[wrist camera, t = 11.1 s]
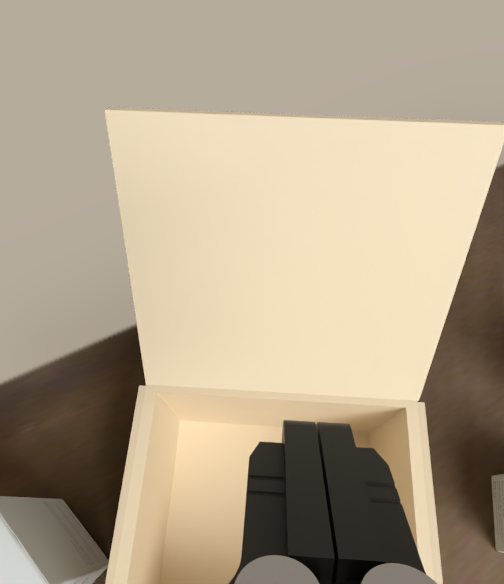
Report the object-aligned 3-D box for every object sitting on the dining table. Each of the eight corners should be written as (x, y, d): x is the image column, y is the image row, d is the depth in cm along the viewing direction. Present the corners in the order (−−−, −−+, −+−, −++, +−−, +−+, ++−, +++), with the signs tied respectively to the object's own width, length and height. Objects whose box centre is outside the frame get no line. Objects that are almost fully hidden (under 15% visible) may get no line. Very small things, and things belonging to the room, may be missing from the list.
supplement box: (-11, 564, 38) (-125, 587, 27) (63, 496, 40) (-13, 490, 29) (38, 642, 36) (-64, 703, 24) (114, 565, 38) (53, 588, 27)
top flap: (104, 109, 21) (109, 106, 22) (145, 384, 31) (148, 377, 32) (509, 125, 21) (503, 121, 21) (418, 400, 31) (416, 393, 31)
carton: (135, 655, 35) (81, 718, 25) (169, 412, 43) (140, 379, 33) (396, 676, 35) (459, 751, 24) (381, 425, 43) (423, 396, 32)
